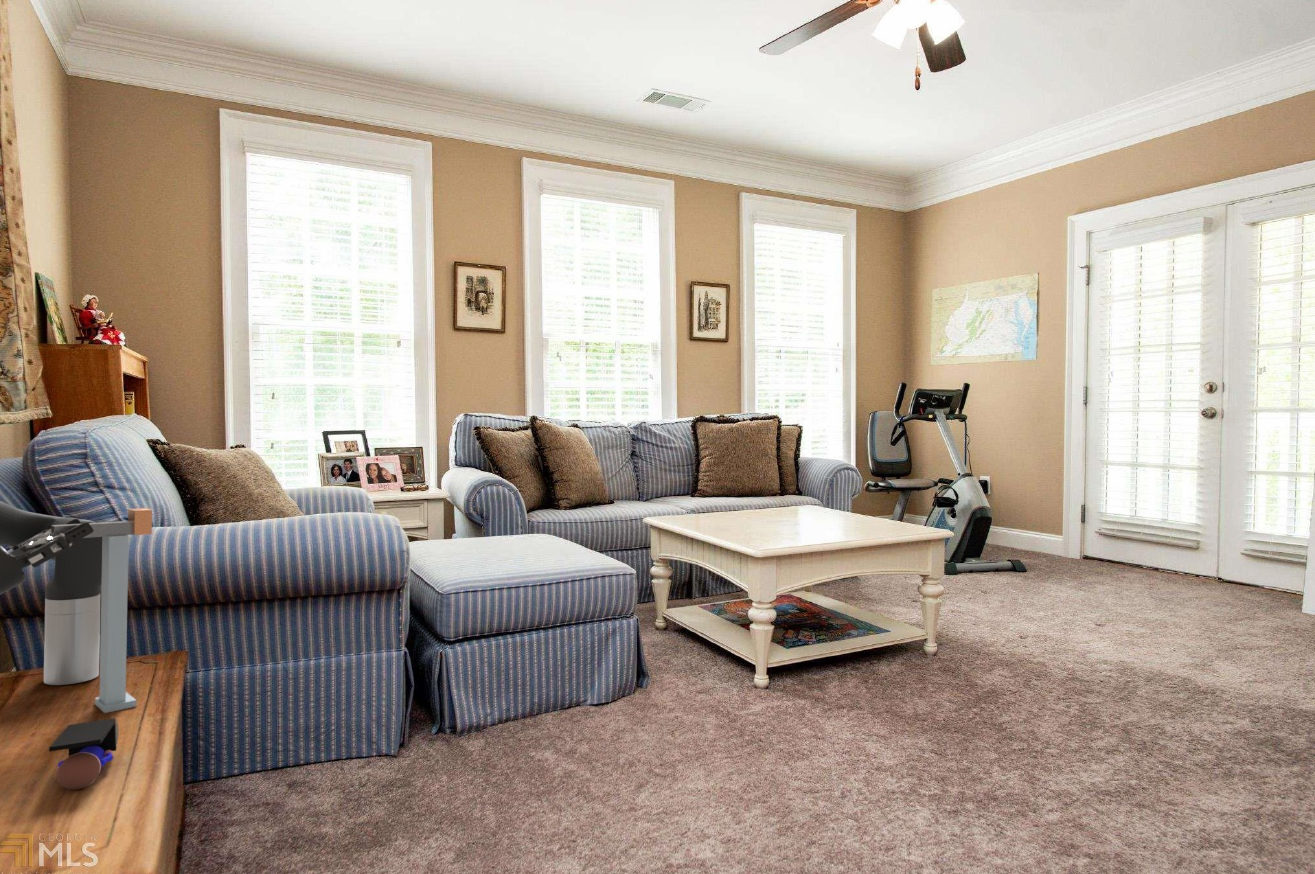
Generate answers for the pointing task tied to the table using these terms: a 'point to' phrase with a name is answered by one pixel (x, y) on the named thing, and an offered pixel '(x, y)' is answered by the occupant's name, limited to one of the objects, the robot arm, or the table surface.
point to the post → (114, 626)
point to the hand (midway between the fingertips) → (85, 524)
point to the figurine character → (85, 751)
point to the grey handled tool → (115, 525)
